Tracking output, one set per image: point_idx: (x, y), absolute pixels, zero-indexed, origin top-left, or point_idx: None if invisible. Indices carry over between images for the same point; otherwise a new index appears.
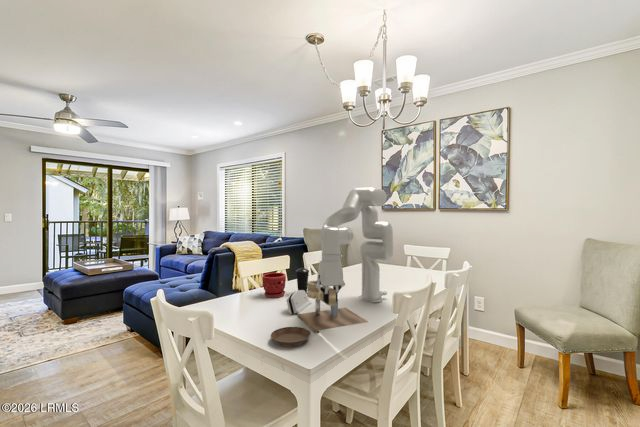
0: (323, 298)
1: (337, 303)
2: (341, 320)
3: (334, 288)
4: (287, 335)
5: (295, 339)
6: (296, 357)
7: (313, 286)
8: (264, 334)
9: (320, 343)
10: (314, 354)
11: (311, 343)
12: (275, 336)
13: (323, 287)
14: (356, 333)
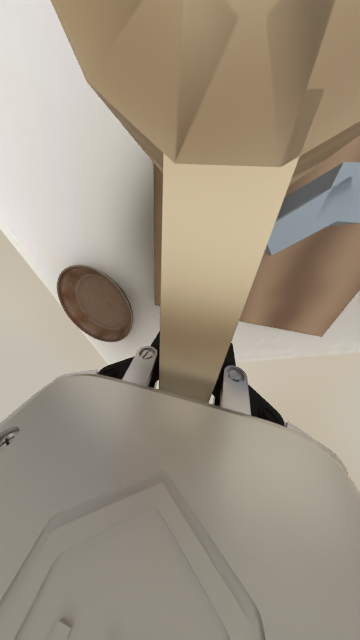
0: (158, 334)
1: (333, 225)
2: (262, 283)
3: (228, 392)
4: (97, 282)
5: (110, 308)
6: (105, 351)
7: (106, 102)
8: (50, 245)
9: (148, 341)
10: (128, 358)
11: (134, 333)
12: (72, 281)
13: (129, 381)
14: (234, 349)
